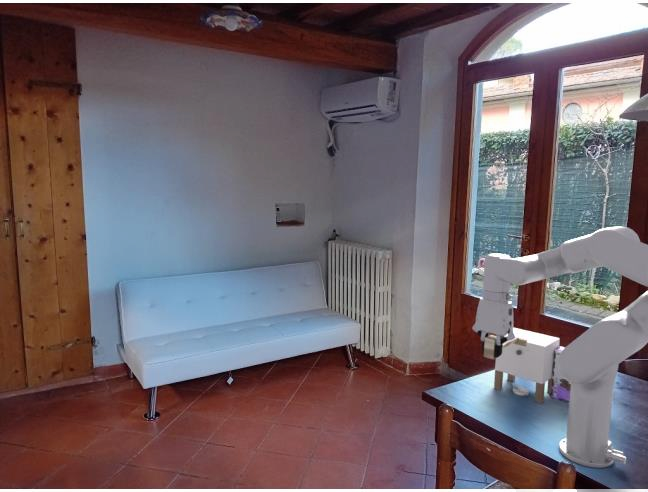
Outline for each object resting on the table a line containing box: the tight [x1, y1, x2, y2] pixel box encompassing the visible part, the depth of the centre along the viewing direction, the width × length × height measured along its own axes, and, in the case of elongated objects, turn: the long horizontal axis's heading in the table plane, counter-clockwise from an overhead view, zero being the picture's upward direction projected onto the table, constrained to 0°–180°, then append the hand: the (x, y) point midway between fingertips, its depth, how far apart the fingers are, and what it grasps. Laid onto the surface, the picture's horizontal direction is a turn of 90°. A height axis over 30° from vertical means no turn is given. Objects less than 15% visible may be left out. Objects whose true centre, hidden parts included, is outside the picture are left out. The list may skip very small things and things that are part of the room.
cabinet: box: [493, 327, 560, 404], centre depth 163 cm, size 16×13×19 cm
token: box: [512, 386, 530, 397], centre depth 163 cm, size 5×5×1 cm
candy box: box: [550, 345, 571, 403], centre depth 156 cm, size 14×6×16 cm, turn 47°
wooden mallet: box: [483, 334, 527, 360], centre depth 150 cm, size 20×6×6 cm, turn 134°
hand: (491, 354), depth 145 cm, fingers closed on wooden mallet, 3 cm apart
